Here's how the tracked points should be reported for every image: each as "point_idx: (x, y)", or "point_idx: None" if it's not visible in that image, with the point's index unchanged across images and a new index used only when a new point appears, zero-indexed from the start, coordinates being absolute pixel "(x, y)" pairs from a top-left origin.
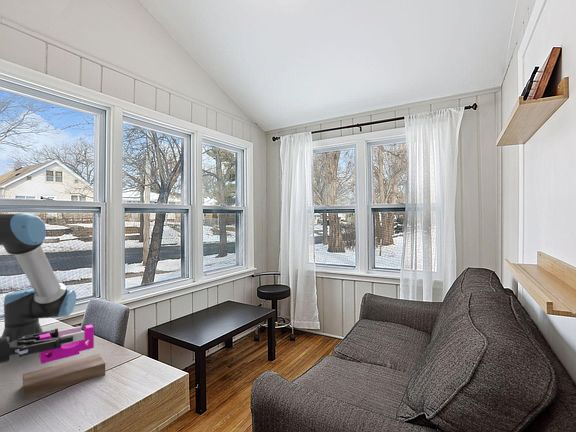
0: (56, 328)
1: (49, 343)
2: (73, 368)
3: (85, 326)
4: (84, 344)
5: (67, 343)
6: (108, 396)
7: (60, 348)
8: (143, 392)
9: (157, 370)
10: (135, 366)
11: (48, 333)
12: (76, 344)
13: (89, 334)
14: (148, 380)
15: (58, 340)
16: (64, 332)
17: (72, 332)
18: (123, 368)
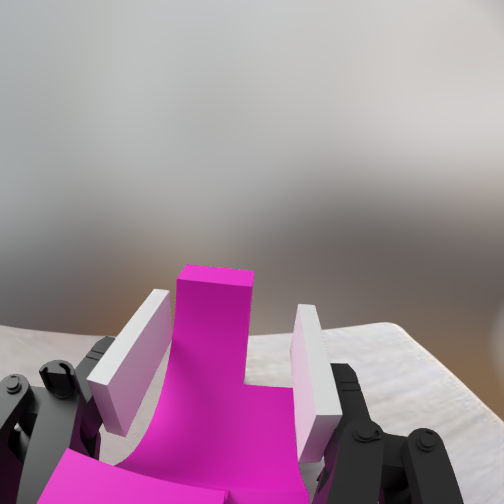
0: (46, 363)
1: (454, 495)
2: None
3: (197, 281)
4: (243, 380)
5: (175, 427)
6: None
7: (301, 481)
8: (440, 377)
9: (350, 343)
10: (290, 363)
11: (77, 461)
12: (275, 401)
13: (249, 320)
14: (391, 363)
15: (433, 432)
16: (130, 372)
17: (154, 347)
18: (278, 384)
